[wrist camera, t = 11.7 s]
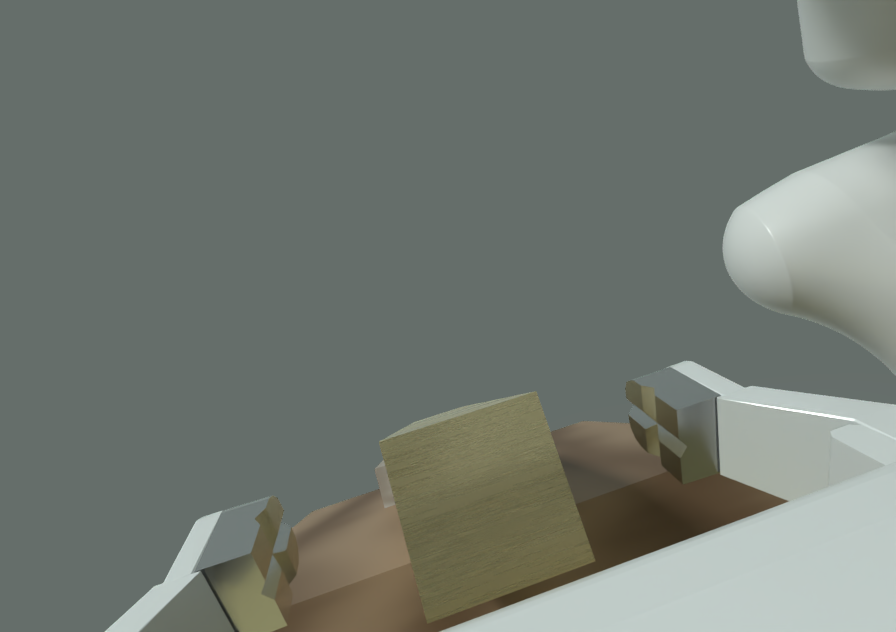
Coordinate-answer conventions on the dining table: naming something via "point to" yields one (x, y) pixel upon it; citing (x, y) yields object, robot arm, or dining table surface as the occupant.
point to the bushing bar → (483, 503)
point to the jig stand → (612, 542)
